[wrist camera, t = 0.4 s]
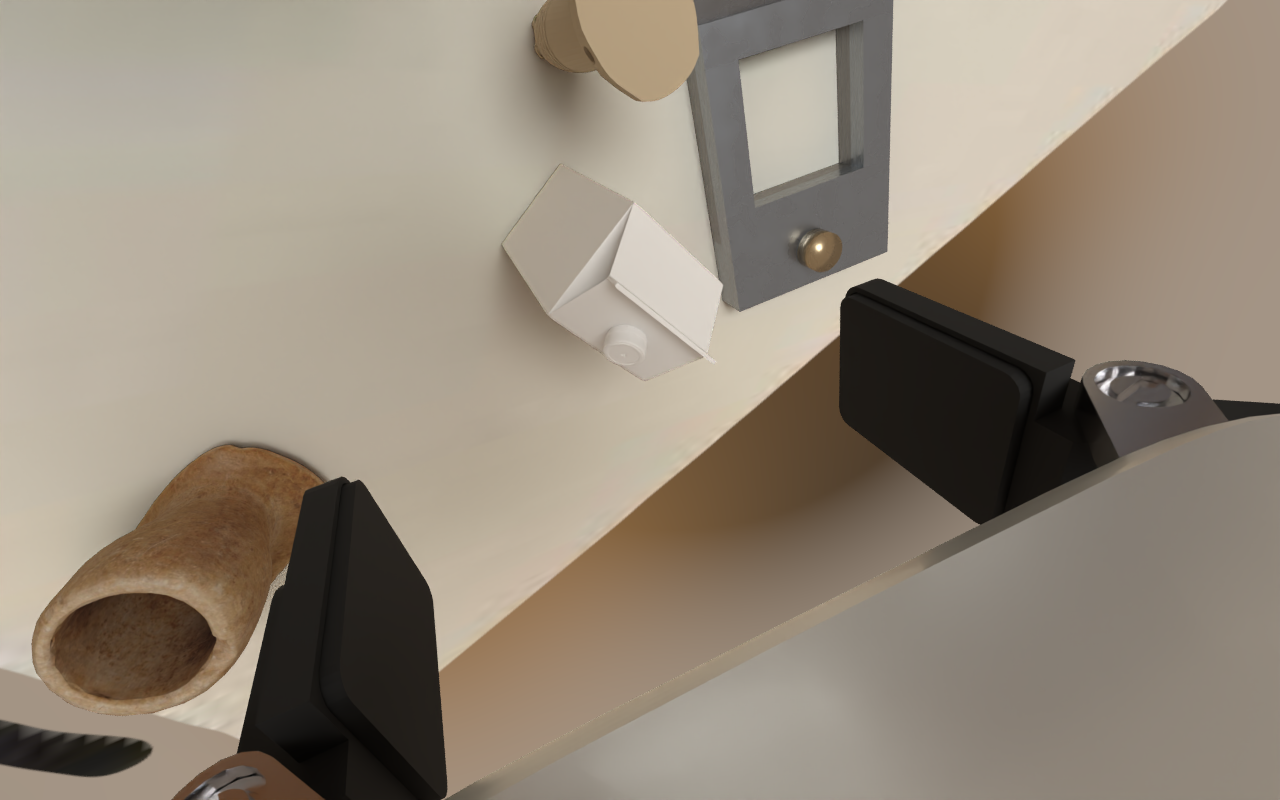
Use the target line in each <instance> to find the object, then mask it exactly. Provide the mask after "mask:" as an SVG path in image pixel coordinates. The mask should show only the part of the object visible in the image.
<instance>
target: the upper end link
mask: <svg viewBox="0 0 1280 800" xmlns="http://www.w3.org/2000/svg"><path fill="white" fill-rule="evenodd" d="M847 25H849V41H850V114H851V165H850V166H848V167H845V168H842V169H840V170H837V171H834V172H831V173H829V174H826V175H823V176H821V177H818V178H815V179H812V180H810V181H807V182H804V183H802V184H799V185H796V186H794V187H791V188H788V189H785V190H783V191H780V192H777V193H775V194H772V195H769V196H767V197H764V198H761V199H758V200H756V201H754V195H753V186H752V177H751V168H750V159H749V151H748V142H747V133H746V124H745V115H744V106H743V97H742V88H741V79H740V71H739V62H738V60H739V59H742V58H746V57H749V56H752V55H755V54H758V53H761V52H765V51H768V50H771V49H774V48H777V47H780V46H784V45H787V44H790V43H793V42H796V41H799V40H802V39H806V38H809V37H812V36H815V35H818V34H821V33H825V32H828V31H831V30H834V29H837V28H840V27H844V26H847ZM697 27H698V41H699V56H698V59H697V62H696V64H695V73H696V80H697V86H698V93H699V99H700V106H701V112H702V119H703V125H704V132H705V139H706V145H707V152H708V158H709V165H710V171H711V178H712V185H713V191H714V198H715V204H716V211H717V217H718V224H719V231H720V237H721V244H722V245H720V244H718V243H716V242H714V241H713V243H714V250H715V256H716V262H717V268H718V274H719V281H720V282H721V283H722V284H723V288H722V299H723V301H724V302H726V303H727V304H729V305H730V306H732V307H733V308H735V309H736V310H738V311H739V312H741V311H743V310H745V309H748V308H750V307H753V306H755V305H758V304H760V303H763V302H765V301H768V300H770V299H772V298H775V297H777V296H780V295H782V294H785V293H787V292H790V291H792V290H794V289H797V288H799V287H802V286H804V285H807V284H809V283H812V282H814V281H817V280H819V279H821V278H824V277H826V276H829V275H831V274H834V273H836V272H839V271H841V270H843V269H846V268H848V267H851V266H853V265H856V264H858V263H861V262H863V261H866V260H868V259H870V258H873V257H875V256H878V255H880V254H883V253H885V252H887V243H888V201H889V158H890V115H891V73H892V30H893V0H779V1H775V2H772V3H769V4H765V5H762V6H759V7H755V8H752V9H749V10H745V11H742V12H739V13H735V14H732V15H729V16H725V17H722V18H718V19H715V20H712V21H708V22H705V23H702V24H698V25H697Z"/></svg>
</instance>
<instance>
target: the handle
mask: <svg viewBox="0 0 1280 800" xmlns="http://www.w3.org/2000/svg"><path fill="white" fill-rule="evenodd" d="M532 27H533V29H534V34H535V41H536V42H535V46H534V48H535V51H536V53H537V54H538V56H539V57H540V58H542V59H546V60H547V61H548V62H549V63H550V64H552V65H553V66H555V67H557V68H559V69H561V70H565V71H568V72H574V73H584V72H590V71H594V70H597V71H598V73H599V74H600V75H601V76H602V77H603V78H604V79H605V80H607V81H608V82H609V83H610V84H612V85H613V86H614V87H616V88H617V89H618V90H620V91H621V92H623V93H624V94H626V95H627V96H629V97H630V98H632V99H634V100H636V101H642V102H645V101H655V100H659V99H662V98H664V97H666V96H668V95H669V94H671V93H672V92H674V91H675V90H676V89H678V88H679V87H680V86H681V85H682V84H683V83H684V82H685V80H686V79H687V78H688V76H689V75H690V74H691V72H692V70H693V68H694V66H695V64H696V62H697V59H698V56H699V41H698V27H697V16H696V11H695V5H694V2H693V0H547V2H546V3H545V4H544V5H543V6H542V8H541V9H540V11H539V13H538V15H536V16H535V17H534V19H533V22H532Z"/></svg>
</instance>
